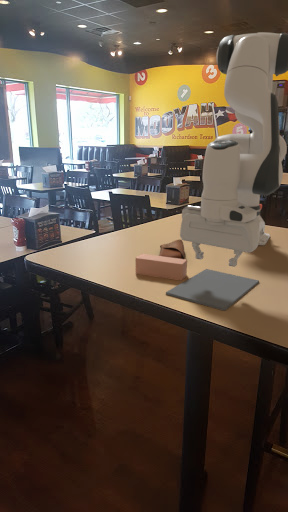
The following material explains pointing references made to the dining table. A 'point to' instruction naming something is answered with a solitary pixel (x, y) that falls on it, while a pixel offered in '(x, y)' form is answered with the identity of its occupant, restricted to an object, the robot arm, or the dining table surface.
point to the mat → (213, 289)
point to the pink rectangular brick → (161, 266)
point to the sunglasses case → (173, 250)
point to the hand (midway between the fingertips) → (215, 262)
